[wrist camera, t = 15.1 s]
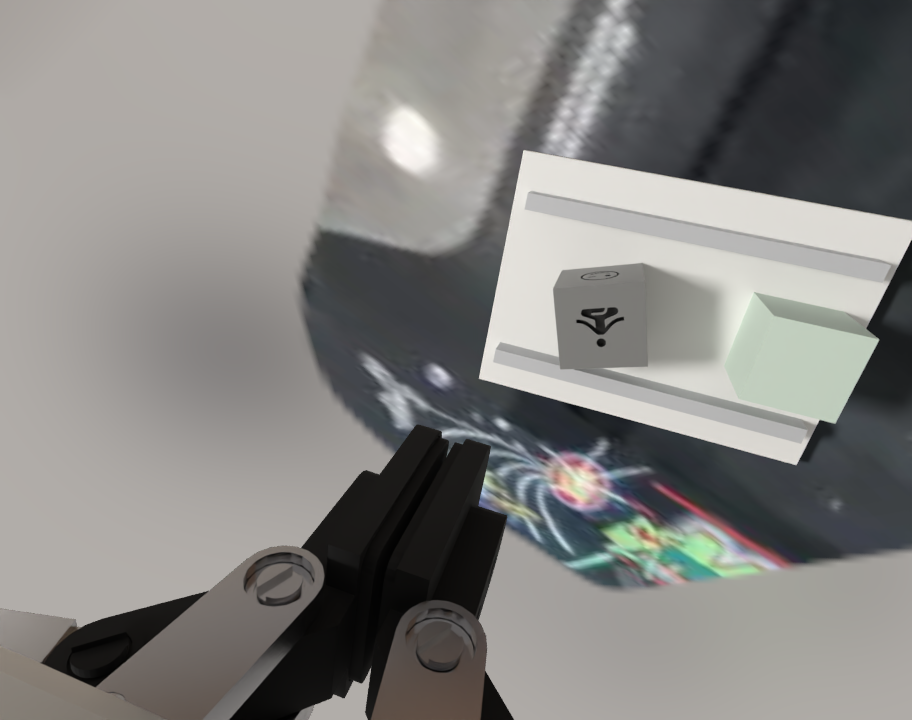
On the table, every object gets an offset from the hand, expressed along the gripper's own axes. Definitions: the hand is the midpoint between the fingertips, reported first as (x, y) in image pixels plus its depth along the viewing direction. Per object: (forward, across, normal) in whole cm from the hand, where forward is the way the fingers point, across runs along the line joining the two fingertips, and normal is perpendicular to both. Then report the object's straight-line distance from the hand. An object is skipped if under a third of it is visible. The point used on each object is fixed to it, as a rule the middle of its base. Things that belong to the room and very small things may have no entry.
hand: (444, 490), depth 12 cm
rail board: (+27, -7, +2) cm, 28 cm away
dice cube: (+26, -3, +2) cm, 27 cm away
